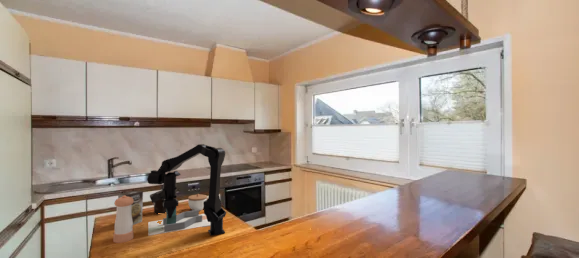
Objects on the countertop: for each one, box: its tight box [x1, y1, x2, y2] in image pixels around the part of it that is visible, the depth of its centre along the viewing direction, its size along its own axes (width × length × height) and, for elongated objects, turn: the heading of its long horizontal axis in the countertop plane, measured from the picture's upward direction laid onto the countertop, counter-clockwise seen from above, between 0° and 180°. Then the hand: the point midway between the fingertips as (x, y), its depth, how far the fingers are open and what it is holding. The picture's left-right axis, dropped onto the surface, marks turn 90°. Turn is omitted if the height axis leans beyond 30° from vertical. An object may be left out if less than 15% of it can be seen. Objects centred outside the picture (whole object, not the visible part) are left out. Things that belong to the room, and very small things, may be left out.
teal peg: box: [165, 207, 177, 225], centre depth 122 cm, size 4×4×10 cm
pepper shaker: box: [112, 195, 134, 244], centre depth 108 cm, size 7×7×19 cm
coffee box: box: [117, 190, 144, 226], centre depth 126 cm, size 9×6×16 cm
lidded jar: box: [187, 193, 208, 212], centre depth 151 cm, size 11×11×9 cm
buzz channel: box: [147, 210, 210, 236], centre depth 128 cm, size 19×32×4 cm, turn 120°
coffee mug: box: [153, 199, 166, 215], centre depth 143 cm, size 12×9×10 cm
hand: (169, 216), depth 122 cm, fingers closed on teal peg, 4 cm apart
